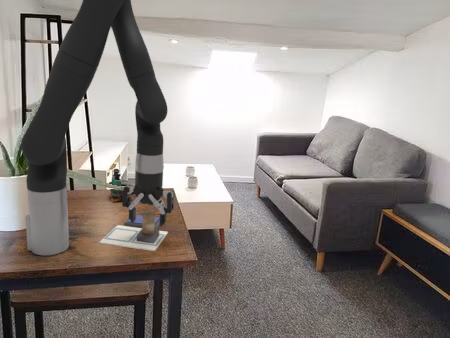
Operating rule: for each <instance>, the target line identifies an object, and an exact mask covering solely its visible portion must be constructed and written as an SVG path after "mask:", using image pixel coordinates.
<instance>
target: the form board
mask: <svg viewBox="0 0 450 338" xmlns="http://www.w3.org/2000/svg"><path fill="white" fill-rule="evenodd" d="M141 229H142V228H136V227H129V226H124V225H121V224H120V225H119V224H116V226H115V227H114V228H112V230H110V231H109V233H108V234H106V235H105V236H104V237H103V238H102V239H101V240H100V241H99V245H100V244H103V245H108V246H115V247H120V248H121V247H122V248H123V247H124V248H131V249H136V250H137V249H138V250H145V251H150V252H156V251H157V249H158V248H159V246H160V245H161V243H162V242H163V241H164V239H165V238H166V236H168V233H169V231H166V230H165V231H164V230H159V237H158V238H157V240H156V241H155V242H154V244H153V243H146V242H139V241H137V234H138V233H139V232H140V230H141Z"/></svg>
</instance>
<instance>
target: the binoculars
mask: <svg viewBox="0 0 450 338" xmlns="http://www.w3.org/2000/svg"><path fill="white" fill-rule="evenodd" d="M112 173H113V174H112V176H111V181H109V182H108V185H109V184H112V185H117V186H127V185H128V184H127V183H126V184H125V183H123V184H122V179H121V178H120V177H121V176H122V175H121V173H120V169H118V168H114V169H113V171H112ZM129 185H130V186H133V187H135V185H131V184H129ZM109 189H110V188H109ZM133 195H135V194H134V192H133V191H132V193H131V194H130V202H131V200H132V197H131V196H133ZM109 197H110V202H112V203H115V202H118V201H123V189H121V190H115V189H110V193H109Z"/></svg>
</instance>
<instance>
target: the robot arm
mask: <svg viewBox="0 0 450 338" xmlns="http://www.w3.org/2000/svg"><path fill="white" fill-rule="evenodd" d="M111 29H112V30H111ZM110 31H112V33H113V37H114V39H115V43H116V47H117V50H118V53H119V57H120V60H121V63H122V67H123V69H124V73H125V75H126V79H127V82H128V84H129V86H130V87H131V89H132V90H133V92H134V95H135V97H136V102H135V110H134V111H135V112H134V113H135V124H136V137H137V139H136V155H135V162H134V163H135V166H134V167H135V168H134V169H135V171H134V172H135V173H134V174H135V175H134V187H131V186H132V185H131V184H127V186H126V187H123V189H122V191H123V200H122V207H124V208H127V209H128V219H129V220H131V222H134V221H135V219H136V215H137V207H136V206H137V205H138V204H139V203H141V204H142V205H143V204H144V205H145V204H146V205H150V206H153V205H154V206H155V208H156V209H157V210H158V211H159V212H160V214H159V218H160V226H159V227H163V226H164V225H165V224H166V222H167V215H168V214H171V213H172V212H173V211H174V207H175V206H174V205H175V204H174V203H175V202H174V201H175V199H174V197H175V196H174V195H175V194H174V191H173V190H172V189H171V190H164V188H163V185H164V184H163V181H164V180H163V179H164V168H165V167H164V135H163V133H162V131H161V123H163V122H164V121H165V120H166V118H167V116H168V110H169V109H168V105H167V100H166V98H165V96H164V93H163V91H162V89H161V87H160V84H159V83H158V79H157V78H156V74H155V71H154V70H155V68H154V65H153V63H152V60H151V57H150V53H149V50H148V47H147V45H146V44H145V41H144V38H143V36H142V34H141V31H140V29H139V26H138V23H137V20H136V17H135V14H134V10H133V5H132V1H131V0H82V2H81V5H80V7H79V10H78V11H77V14H76V16H75V18H74V19H73V21H72V23H71V25H70V26H69V28H68V29H67V32H66V33H65V35H64V38H63V39H62V41H61V43H60V46H59V48H58V51H57V53H56V55H55V59H54V61H53V63H52V65H51V68H50V69H51V70H50V73H49V74H48V79H47V81H46V84H45V88H44V91H43V95H42V98H41V102H40V104H39V106H38V110H37V111H36V113H35V115H34V117H33V119H31V120H32V121H31V123H30V124H29V126H28V128H27V129H26V131H25V132H24V134H23V136H22V139H21V145H20V148H21V152H22V155H23V157H24V158H25V160H27V164H28V166H27V174H26V181H25V183H26V193H27V205H28V208H27V209H28V214H27V215H25V229H26V232H25V233H26V243H27V244H26V245H27V251H31V252H32V253H33V254H34V255H38V256H45V257H46V256H54V255H57V254H61V253H63V252H65V251H67V250H68V248H69V246H70V237H69V215H68V214H69V213H68V212H69V211H68V210H69V209H68V195H67V194H68V192H67V189H68V188H67V176H68V156H67V155H68V154H67V153H68V152H67V149H68V148H67V139H66V136H67V135H66V134H67V132H68V128H69V126H70V123H71V121H72V118H73V115H74V114H75V112H76V111H77V108H78V107H79V105H80V103H81V102H82V100H83V99H84V97H85V95H86V93H88V90H89V89H90V86H91V83H92V82H93V79H94V77H95V74H96V73H97V71H98V68H99V65H100V62H101V60H102V57H103V54H104V51H105V47H106V43H107V41H108V37H109V33H110ZM130 185H131V186H130ZM132 192H134V195H135V197H136V198H135V199H134V200H133V201H132V202H131V201H130V197H131V195H130V194H131V193H132ZM163 196H164V199H165V200H166V205H165V202H164V200H163V199H162V197H163Z"/></svg>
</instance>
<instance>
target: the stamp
mask: <svg viewBox="0 0 450 338" xmlns="http://www.w3.org/2000/svg"><path fill="white" fill-rule="evenodd" d="M155 214H156V213H155V211H153V210H144V211H142V229H141V230H140V232H139V233H138V234H137V241H139V242H146V243H153V244H154V242H155V241H156V240H157V238H158V237H159V231H160V229H158V228H157V229H154V223H155V217H156V216H155Z"/></svg>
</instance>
